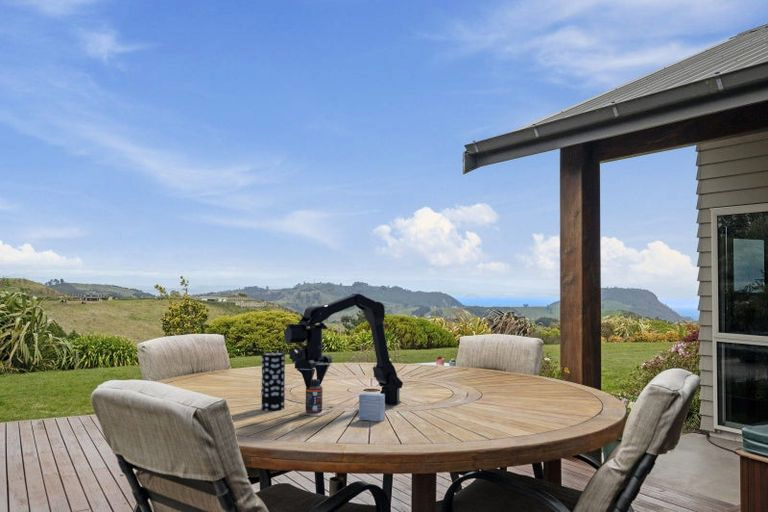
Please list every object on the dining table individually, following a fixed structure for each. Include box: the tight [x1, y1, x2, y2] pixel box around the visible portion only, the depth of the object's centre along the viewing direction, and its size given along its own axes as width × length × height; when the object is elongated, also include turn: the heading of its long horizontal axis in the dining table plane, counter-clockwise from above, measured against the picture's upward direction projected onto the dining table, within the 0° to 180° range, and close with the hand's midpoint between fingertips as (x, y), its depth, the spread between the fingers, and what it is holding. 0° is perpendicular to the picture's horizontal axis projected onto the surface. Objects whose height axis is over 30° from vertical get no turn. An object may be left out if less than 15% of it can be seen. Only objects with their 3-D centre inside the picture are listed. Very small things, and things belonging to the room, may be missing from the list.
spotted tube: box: [261, 352, 286, 412], centre depth 225 cm, size 8×8×20 cm
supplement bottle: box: [305, 378, 324, 413], centre depth 217 cm, size 6×6×11 cm
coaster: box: [298, 409, 330, 417], centre depth 216 cm, size 8×8×1 cm
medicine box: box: [358, 392, 386, 422], centre depth 206 cm, size 8×4×9 cm, turn 71°
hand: (313, 386), depth 217 cm, fingers open, 9 cm apart
